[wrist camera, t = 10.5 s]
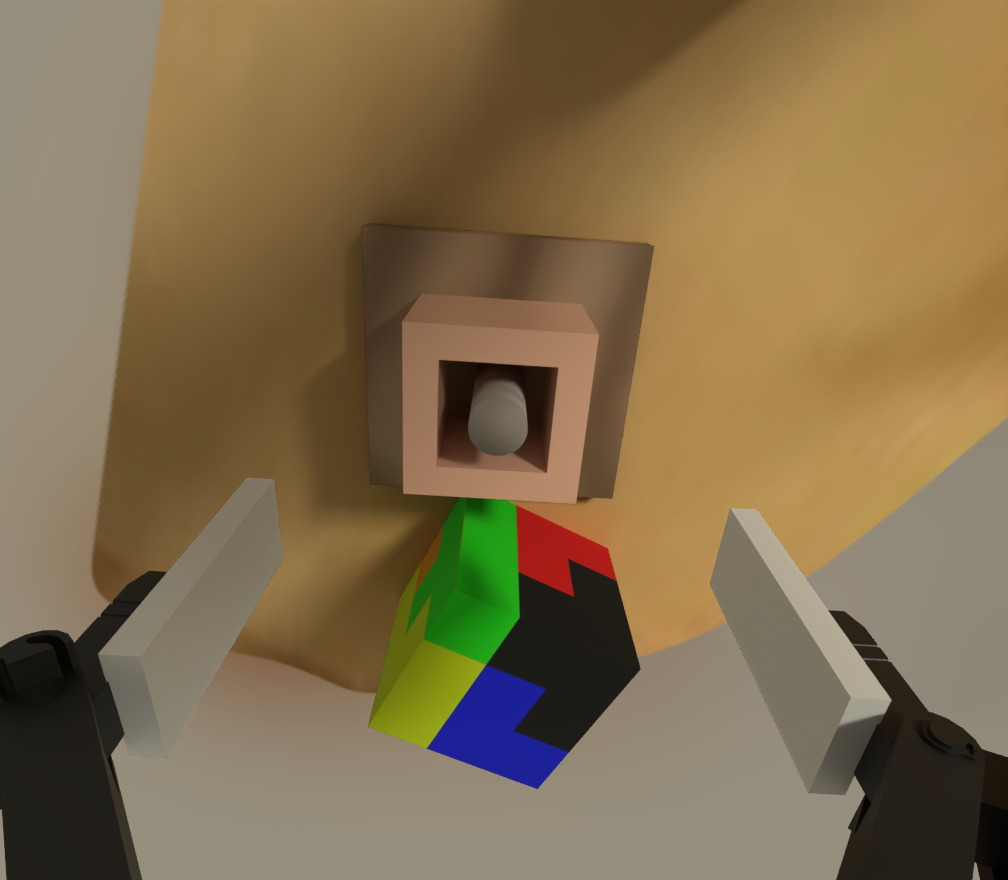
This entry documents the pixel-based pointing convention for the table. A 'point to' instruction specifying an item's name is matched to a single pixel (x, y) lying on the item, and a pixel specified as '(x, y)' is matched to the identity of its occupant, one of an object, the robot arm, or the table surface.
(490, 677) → the puzzle toy
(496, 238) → the square plate with peg
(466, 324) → the collar
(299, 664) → the table surface
